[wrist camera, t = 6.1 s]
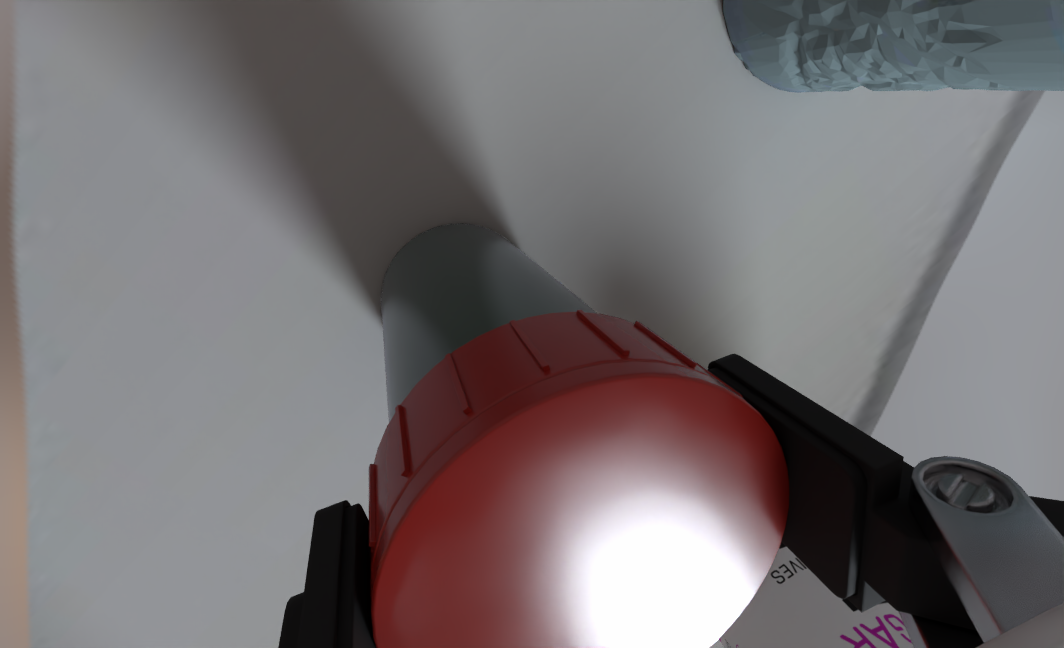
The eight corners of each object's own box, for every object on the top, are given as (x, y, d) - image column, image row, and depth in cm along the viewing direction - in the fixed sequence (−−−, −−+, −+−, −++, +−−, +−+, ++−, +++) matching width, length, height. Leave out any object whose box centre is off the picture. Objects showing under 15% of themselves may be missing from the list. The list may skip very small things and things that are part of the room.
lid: (284, 434, 9) (250, 555, 6) (654, 241, 10) (755, 281, 7) (468, 656, 12) (494, 794, 10) (731, 498, 13) (818, 587, 10)
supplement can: (676, 595, 33) (880, 907, 20) (652, 512, 30) (881, 823, 16) (778, 540, 35) (1034, 800, 21) (766, 453, 31) (1066, 700, 18)
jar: (536, 354, 24) (733, 623, 11) (394, 380, 22) (428, 733, 9) (528, 215, 21) (774, 350, 8) (367, 232, 19) (364, 435, 7)
